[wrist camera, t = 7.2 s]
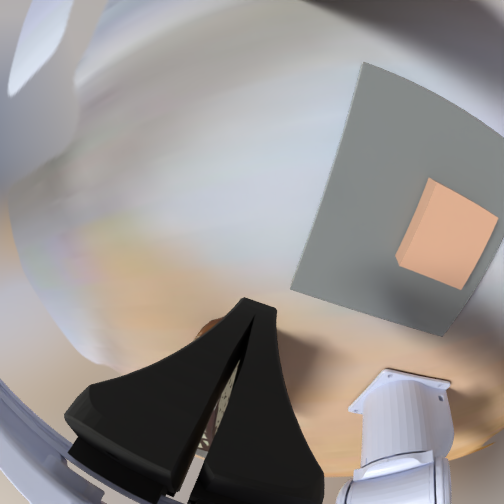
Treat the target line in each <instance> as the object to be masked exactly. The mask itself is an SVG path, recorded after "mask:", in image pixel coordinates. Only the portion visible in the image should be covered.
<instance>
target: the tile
mask: <svg viewBox="0 0 504 504" xmlns="http://www.w3.org/2000/svg"><path fill="white" fill-rule="evenodd" d="M497 220H498V217H496V216H495V215H494V214H492V213H491V212H490V211H488V210H487V209H485V208H483V207H482V206H480V205H479V204H477V203H475V202H474V201H472V200H470V199H468V198H467V197H465V196H463V195H461V194H460V193H458V192H456V191H454V190H452V189H451V188H449V187H447V186H445V185H443V184H441V183H439V182H437V181H435V180H433V179H431V178H428V181H427V183H426V186H425V189H424V191H423V194H422V196H421V199H420V201H419V204H418V206H417V209H416V211H415V213H414V216H413V218H412V220H411V222H410V225H409V227H408V229H407V231H406V234H405V236H404V238H403V240H402V242H401V244H400V246H399V248H398V251H397V253H396V255H395V257H396V259H397V261H398V264H399V266H401V267H404V268H406V269H409V270H412V271H414V272H417V273H419V274H422V275H425V276H427V277H430V278H432V279H435V280H437V281H440V282H442V283H445V284H447V285H450V286H452V287H455V288H457V289H460V290H461V289H462V288H463V286H464V285H465V283H466V281H467V279H468V278H469V276H470V274H471V273H472V271H473V269H474V267H475V265H476V264H477V262H478V260H479V258H480V256H481V254H482V252H483V250H484V248H485V246H486V244H487V242H488V240H489V238H490V236H491V234H492V232H493V229H494V227H495V225H496V223H497Z"/></svg>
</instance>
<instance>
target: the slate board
mask: <svg viewBox="0 0 504 504" xmlns="http://www.w3.org/2000/svg"><path fill="white" fill-rule="evenodd" d="M428 178H431V179H433V180H435V181H437V182H439V183H441V184H443V185H445V186H447V187H449V188H451V189H452V190H454V191H456V192H458V193H460V194H461V195H463V196H465V197H467V198H468V199H470V200H472V201H474V202H475V203H477V204H479V205H480V206H482V207H483V208H485V209H487V210H488V211H490V212H491V213H492V214H494V215H495V216H496V217H498V220H497V223H496V225H495V227H494V229H493V232H492V234H491V236H490V238H489V240H488V242H487V244H486V246H485V248H484V250H483V252H482V254H481V256H480V258H479V260H478V262H477V264H476V265H475V267H474V269H473V271H472V273H471V274H470V276H469V278H468V279H467V281H466V283H465V285H464V286H463V288H462V289H461V290H460V289H457V288H455V287H452V286H450V285H447V284H445V283H442V282H440V281H437V280H435V279H432V278H430V277H427V276H425V275H422V274H419V273H417V272H414V271H412V270H409V269H406V268H404V267H401V266H399V264H398V261H397V259H396V257H395V255H396V253H397V251H398V248H399V246H400V244H401V242H402V240H403V238H404V236H405V234H406V231H407V229H408V227H409V225H410V222H411V220H412V218H413V216H414V213H415V211H416V209H417V206H418V204H419V201H420V199H421V196H422V194H423V191H424V189H425V186H426V183H427V181H428ZM503 237H504V138H503V137H502V136H501V135H500V134H498V133H497V132H496V131H494V130H493V129H491V128H490V127H489V126H487V125H486V124H484V123H483V122H482V121H480V120H479V119H477V118H476V117H474V116H473V115H471V114H469V113H468V112H466V111H465V110H463V109H462V108H460V107H458V106H457V105H455V104H453V103H452V102H450V101H448V100H446V99H445V98H443V97H441V96H439V95H437V94H435V93H434V92H432V91H430V90H428V89H426V88H424V87H422V86H420V85H418V84H416V83H414V82H412V81H409V80H407V79H405V78H403V77H401V76H398V75H396V74H394V73H391V72H389V71H387V70H384V69H382V68H379V67H376V66H374V65H371V64H368V63H366V62H363V63H362V65H361V68H360V72H359V76H358V79H357V83H356V87H355V91H354V94H353V98H352V101H351V105H350V109H349V112H348V115H347V119H346V122H345V126H344V129H343V133H342V136H341V139H340V142H339V146H338V149H337V152H336V155H335V159H334V162H333V165H332V168H331V171H330V174H329V177H328V180H327V183H326V187H325V190H324V193H323V196H322V199H321V201H320V204H319V207H318V210H317V213H316V216H315V219H314V222H313V225H312V228H311V230H310V233H309V236H308V239H307V242H306V244H305V247H304V250H303V253H302V255H301V258H300V261H299V263H298V266H297V269H296V271H295V274H294V277H293V279H292V283H291V287H290V289H291V290H294V291H297V292H300V293H303V294H306V295H309V296H312V297H315V298H318V299H321V300H324V301H327V302H330V303H333V304H336V305H340V306H343V307H346V308H349V309H352V310H355V311H358V312H362V313H365V314H368V315H371V316H374V317H378V318H381V319H384V320H387V321H391V322H394V323H397V324H401V325H404V326H407V327H411V328H414V329H417V330H421V331H424V332H427V333H431V334H434V335H438V336H441V337H443V335H444V334H445V333H446V332H447V330H448V329H449V327H450V326H451V325H452V323H453V322H454V321H455V319H456V318H457V316H458V315H459V313H460V312H461V311H462V309H463V308H464V306H465V305H466V303H467V302H468V300H469V298H470V297H471V295H472V294H473V292H474V291H475V289H476V287H477V286H478V284H479V282H480V281H481V279H482V277H483V275H484V274H485V272H486V270H487V268H488V267H489V265H490V263H491V261H492V259H493V257H494V255H495V253H496V251H497V249H498V247H499V245H500V243H501V241H502V239H503Z"/></svg>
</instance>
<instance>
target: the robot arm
mask: <svg viewBox="0 0 504 504" xmlns="http://www.w3.org/2000/svg"><path fill="white" fill-rule="evenodd" d="M276 317H277V310H276V308H274V307H271V306H268V305H265V304H262V303H259V302H256V301H253V300H251V299H248V298H245V297H244V298H242V299H240V301H239V302H238V303H237V304H236V305H235V307H234V308H233V309H232V310H231V311H230V312H229V313H228V314H227V315H226V316H225V317H223V318H222V319H221V320H220V321H219V322H218V323H216V324H215V325H214V326H213V327H212V328H211V329H209V330H208V331H207V332H205V333H204V334H203V335H201V336H200V337H199V338H197V339H196V340H194V341H193V342H191V343H190V344H188V345H187V346H185V347H184V348H182V349H180V350H179V351H177V352H175V353H173V354H172V355H170V356H168V357H166V358H164V359H162V360H160V361H158V362H156V363H154V364H152V365H150V366H147V367H145V368H142V369H140V370H137V371H134V372H132V373H129V374H127V375H124V376H121V377H118V378H114V379H110V380H107V381H103V382H99V383H95V384H91V385H89V386H88V387H87V388H86V389H85V390H84V391H83V392H82V393H81V394H80V395H79V396H78V397H77V398H76V399H75V401H74V402H73V403H72V405H71V406H70V407H69V409H68V410H67V411H66V413H65V414H64V418H65V421H66V422H67V423H68V425H69V426H70V427H71V429H72V430H73V431H74V432H75V433H76V435H77V436H78V438H77V439H76V441H75V442H74V444H72V443H71V442H69V441H68V440H67V439H65V438H64V437H63V436H61V435H60V434H59V433H57V432H56V431H55V430H54V429H52V428H51V427H50V426H49V425H48V424H47V423H45V422H44V421H43V420H42V419H41V418H40V417H38V416H37V415H36V414H35V413H34V412H33V411H32V410H31V409H29V408H28V407H27V406H26V405H25V404H24V403H23V402H22V401H21V400H20V399H19V398H18V397H17V396H16V395H15V394H14V393H13V392H12V391H11V390H10V389H9V388H8V387H7V386H6V385H5V383H4V382H3V381H2V380H1V379H0V470H1V471H2V472H3V473H4V475H5V476H6V477H7V478H8V479H9V481H10V482H11V483H12V484H13V485H14V486H15V487H16V488H17V490H18V491H19V492H20V493H21V494H22V495H23V496H24V497H25V498H26V499H27V500H28V501H29V502H30V504H106V503H105V502H103V501H101V499H102V497H103V495H104V491H103V490H101V489H100V488H98V487H97V486H95V485H93V484H92V483H90V482H89V481H87V480H86V479H84V478H83V477H81V476H80V475H78V474H77V473H75V472H74V471H72V470H71V469H70V468H69V467H68V466H67V460H69V461H70V462H71V463H73V464H74V465H76V466H77V467H78V468H80V469H81V470H83V471H84V472H86V473H87V474H89V475H90V476H92V477H94V478H95V479H97V480H98V481H100V482H102V483H103V484H105V485H107V486H108V487H110V488H112V489H113V490H115V491H117V492H119V493H121V494H122V495H124V496H126V497H128V498H130V499H132V500H134V501H136V502H138V503H140V504H183V503H180V502H178V501H175V500H173V499H170V498H168V497H166V494H167V495H169V496H172V497H174V495H175V493H176V492H178V491H180V489H181V486H182V484H183V482H184V479H185V477H186V474H187V472H188V470H189V467H190V465H191V463H192V460H193V458H194V456H195V453H196V451H197V449H198V446H199V444H200V441H201V439H202V437H203V434H204V432H205V430H206V427H207V425H208V422H209V420H210V418H211V415H212V413H213V411H214V408H215V406H216V404H217V402H218V400H219V399H220V397H221V395H222V393H223V391H224V389H225V387H226V385H227V383H228V382H229V380H230V378H231V376H232V374H233V372H234V370H235V368H236V366H237V364H238V362H239V364H238V368H237V372H236V375H235V379H234V383H233V386H232V390H231V394H230V397H229V401H228V404H227V407H226V409H225V412H224V414H223V417H222V419H221V422H220V424H219V427H218V429H217V431H216V434H215V436H214V439H213V441H212V444H211V446H210V448H209V451H208V453H207V455H206V458H205V460H204V463H203V466H202V468H201V471H200V473H199V476H198V478H197V481H196V483H195V485H194V488H193V490H192V492H191V495H190V498H189V500H188V502H187V504H322V502H323V498H324V473H323V471H322V469H321V467H320V466H319V464H318V462H317V461H316V459H315V457H314V455H313V454H312V452H311V450H310V448H309V446H308V444H307V442H306V440H305V438H304V436H303V433H302V431H301V429H300V426H299V424H298V421H297V419H296V416H295V414H294V411H293V409H292V406H291V403H290V400H289V396H288V393H287V389H286V386H285V382H284V378H283V374H282V369H281V364H280V358H279V351H278V343H277V330H276ZM239 360H240V361H239ZM449 386H450V382H449V381H444V380H438V379H433V378H428V377H422V376H418V375H413V374H408V373H403V372H399V371H394V370H390V369H384V370H383V371H381V373H380V374H379V375H378V376H377V377H376V378H375V379H374V381H373V382H372V383H371V384H370V385H369V386H368V387H367V388H366V389H365V391H364V392H363V393H362V394H361V395H360V396H359V397H358V398H357V399H356V400H355V401H354V402H353V403H352V404H351V405H350V406H349V407H348V411H349V412H353V413H358V414H363V430H362V453H361V468H360V469H356V470H354V476H353V478H351V479H349V480H348V481H347V482H346V483H345V484H344V485H343V487H342V488H341V489H340V491H339V494H338V496H337V500H336V504H451V476H450V467H449V461H448V459H447V458H445V457H446V456H447V454H448V453H449V451H450V449H451V447H452V443H453V439H454V427H453V422H452V416H451V411H450V406H449V402H448V397H447V393H446V390H447V389H448V388H449ZM64 457H65V458H66V459H67V460H66V459H65V458H64Z"/></svg>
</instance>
